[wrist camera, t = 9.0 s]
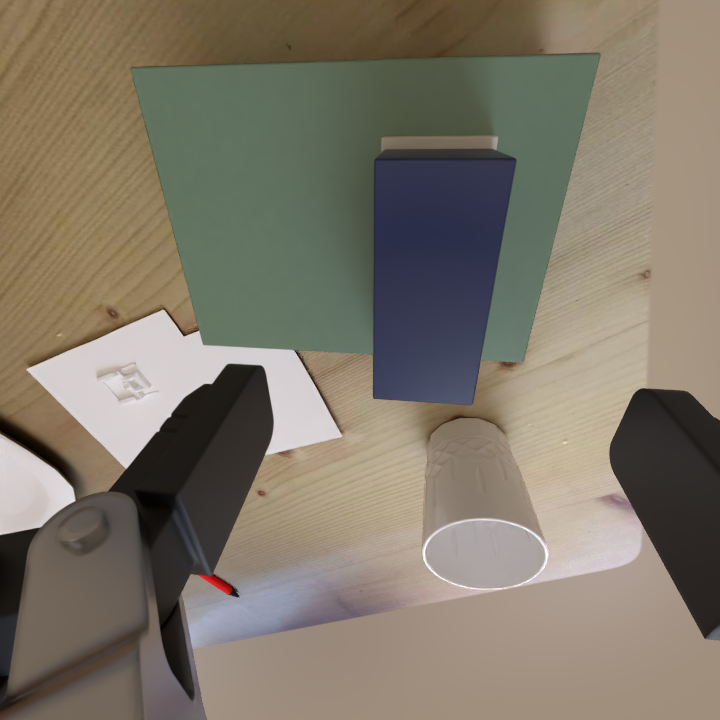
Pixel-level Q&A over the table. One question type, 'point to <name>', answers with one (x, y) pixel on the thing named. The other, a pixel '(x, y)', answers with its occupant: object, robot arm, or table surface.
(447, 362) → the navy block
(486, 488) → the white cup
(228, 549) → the table surface
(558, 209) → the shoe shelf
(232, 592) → the pen
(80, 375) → the paper
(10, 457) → the plate
